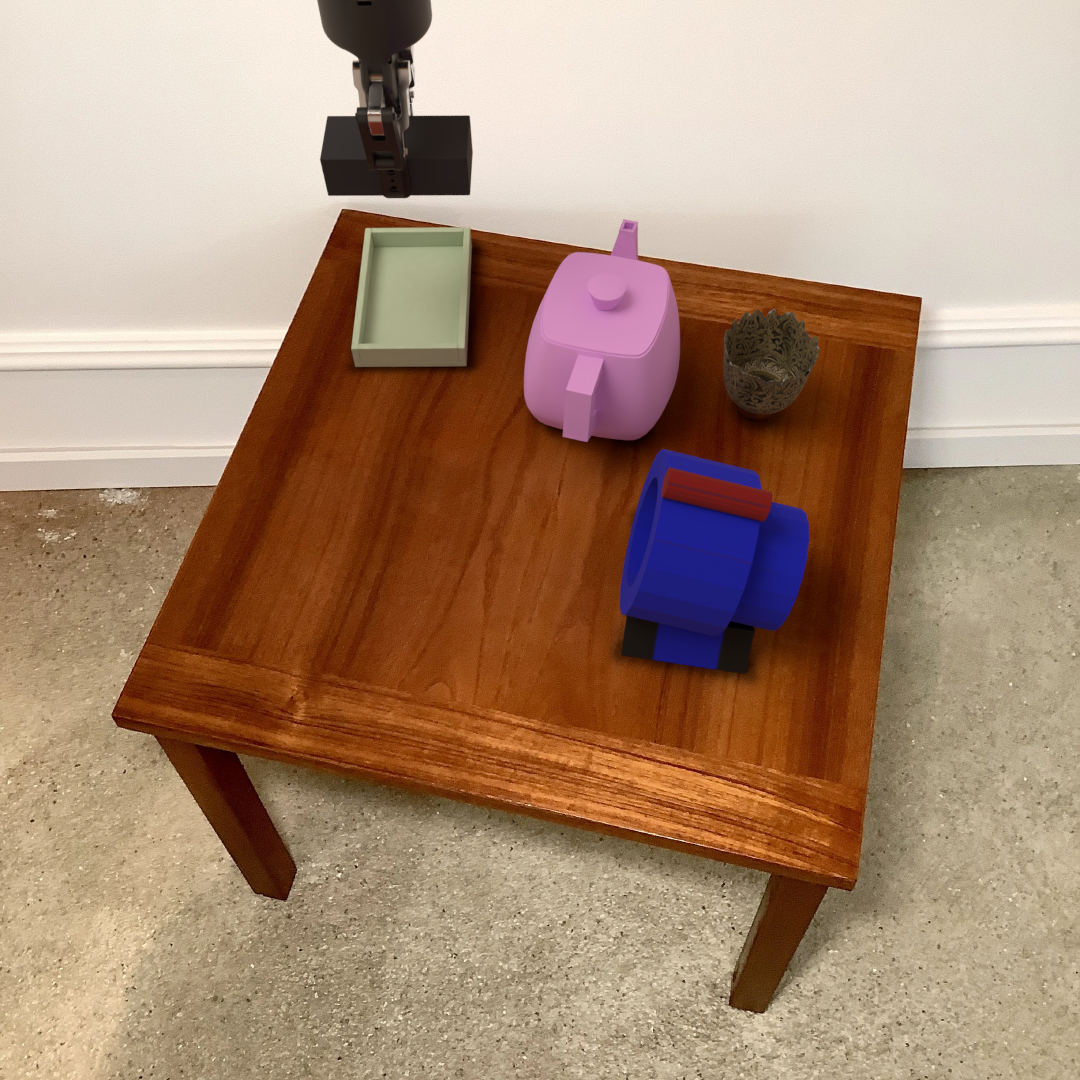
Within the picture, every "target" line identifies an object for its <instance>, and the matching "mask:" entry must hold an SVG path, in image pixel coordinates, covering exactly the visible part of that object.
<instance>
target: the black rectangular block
mask: <svg viewBox="0 0 1080 1080" xmlns="http://www.w3.org/2000/svg"><path fill="white" fill-rule="evenodd" d="M325 122H326V123H325V126H324V127H325V129H324V133H323V139H322V145H321V152H320V155H319V156H320V158H319V162H320V165H321V166H320V167H321V171H322V175H323V179H324V184H325V188H326V192H327V196H329V197H351V196H352V197H361V196H362V197H363V196H364V197H366V196H367V197H369V196H370V197H372V196H374V197H376V196H378V197H379V196H380V197H381V196H383V195H382V191H381V185H380V180H379V174H378V170H369V166H368V165H367V159H366V155H365V151H364V147H363V143H362V139H361V135H360V132H359V128H358V124H357V121H356V119H355V115H328V116H327V117H326V121H325ZM471 126H472V125H471V116H470V115H466V114H465V115H413V116H411V121H410V124H409V127H408V128H407V129H406V130H405V136H406V148H408V156H407V162H408V169H409V176H410V183H411V195H410V196H409V197H411V196H415V197H417V196H418V197H419V196H420V197H421V196H470V195H471V187H472V173H473V157H474V156H473V155H474V154H473V153H474V151H473V137H472V127H471ZM383 197H384V196H383Z"/></svg>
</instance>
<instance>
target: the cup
mask: <svg viewBox="0 0 1080 1080" xmlns="http://www.w3.org/2000/svg"><path fill="white" fill-rule="evenodd" d="M820 351H821V348H820V347H819V338H818V336H817V335H815V336H812V337H811V336H810V334H809V333H807V332H806V322H805V321H804V320H800V321H798V319H797V316H796V314H795V313H794V312H792V311H791V312H789V311H788V312H785V313H783V314H781V315H778V312H777V310H776V308H772V309H771V310H770V311H768V313H767V315H766V316H765V315H764V313H762V311H760V310H759V309H755V310H754V311H753V313H749V312H748V311H745V313H743V314H742V316H741V317H740V319H739V322H738V319H737V318H734V319H733V321H732V322H731V325H730V329H726V330H724V335H723V361H722V370H723V371H722V374H723V376H722V377H723V383H724V387H725V390H726V392H727V395H728V396H729V398H730V399H731V401H732V402H733V403H734V404H735V405H736V409H737V410H738V411H739V413H740V414H741V415H742V416H744V417H745V418H747V419H750V420H753V421H763V420H767V419H769V418H770V417H772V416H774V415H775V413H776V414H777V413H778V412H781V411H783V410H786V408H788V407H789V406H790V405H792V403H793V402H794V401H796V399H797V398H798V396H799V395H800V393H801V392H802V390H803V389H804V387H805V385H806V383H807V381H808V379H809V377H810V376H811V373H812V371H813V368H814V367H815V365H816V363H817V361H818V359H819V356H820V353H821V352H820Z"/></svg>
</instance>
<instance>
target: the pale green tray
mask: <svg viewBox="0 0 1080 1080" xmlns="http://www.w3.org/2000/svg"><path fill="white" fill-rule="evenodd" d="M471 229H472V228H471V227H470V226H468V227H467V226H465V227H464V226H459V227H455V226H454V227H453V226H451V227H447V226H444V227H439V226H438V227H366V228H365V229H364V235H363V236H364V237H363V246H362V254H361V263H360V271H359V277H358V279H359V280H358V289H357V296H356V297H357V298H356V306H355V311H354V312H355V314H354V322H353V331H352V339H351V348H350V349H351V354H352V359H353V362H354V367H355V368H388V367H389V368H399V367H401V368H403V367H406V368H407V367H409V368H410V367H411V368H412V367H414V368H415V367H416V368H418V367H419V368H420V367H424V368H425V367H426V368H427V367H467V366H468V365H467V364H468V345H469V344H468V341H469V324H470V323H469V319H470V317H469V316H470V297H471V277H472V275H471V274H472V252H473V244H472V230H471Z"/></svg>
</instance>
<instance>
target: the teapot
mask: <svg viewBox="0 0 1080 1080" xmlns="http://www.w3.org/2000/svg"><path fill="white" fill-rule="evenodd" d="M680 326H681V325H680V315H679V308H678V302H677V297H676V295H675V291H674V287H673V285H672V281H671V278H670V275H669V273H668V271H667V269H666V268H664V267H662V266H660V265H659V264H655V263H652V262H646V261H643V260H639V222H638V221H636V220H630V219H626V218H623V219H622V221H621V224H620V227H619V229H618V233H617V237H616V239H615V242H614V244H613V248H612V250H611V253H610V254H603V253H597V252H586V251H585V252H584V251H575V252H573V253H570V254H568V255H567V256H566V257H565V258H564V259H563V260H562V261H561V263H560V264H559V266H558V268H557V269H556V271H555V273H554V275H553V278H552V279H551V280H550V282H549V284H548V287H547V289H546V291H545V294H544V295H543V298H542V300H541V302H540V304H539V307H538V309H537V312H536V314H535V317H534V319H533V322H532V326H531V329H530V331H529V332H530V333H529V336H528V341H527V347H526V352H525V360H524V371H523V395H524V396H523V397H524V400H525V401H524V402H525V405H526V407H527V409H528V411H529V412H530V413H531V414H532V416H533V417H534V418H535V419H536V420H537V421H538V422H540V423H542V424H544V425H546V426H550V427H552V428H557V429H559V430H562V438H568V439H571V440H575V441H580V442H583V443H584V442H585V443H588V442H589V440H590V439H591V437H597V438H604V439H610V440H611V439H612V440H619V441H621V440H622V441H635V440H638V439H641V438H642V437H644V436H645V435H647V434H648V433H649V432H650V431H651V430H652V429H653V428H654V427H655V425H656V424H657V422H658V421H659V419H660V418H661V416H662V414H663V412H664V411H665V409H666V407H667V404H668V403H669V400H670V398H671V396H672V394H673V391H674V388H675V385H676V382H677V378H678V374H679V369H680V367H679V366H680V360H681V359H680V357H681V327H680Z"/></svg>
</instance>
